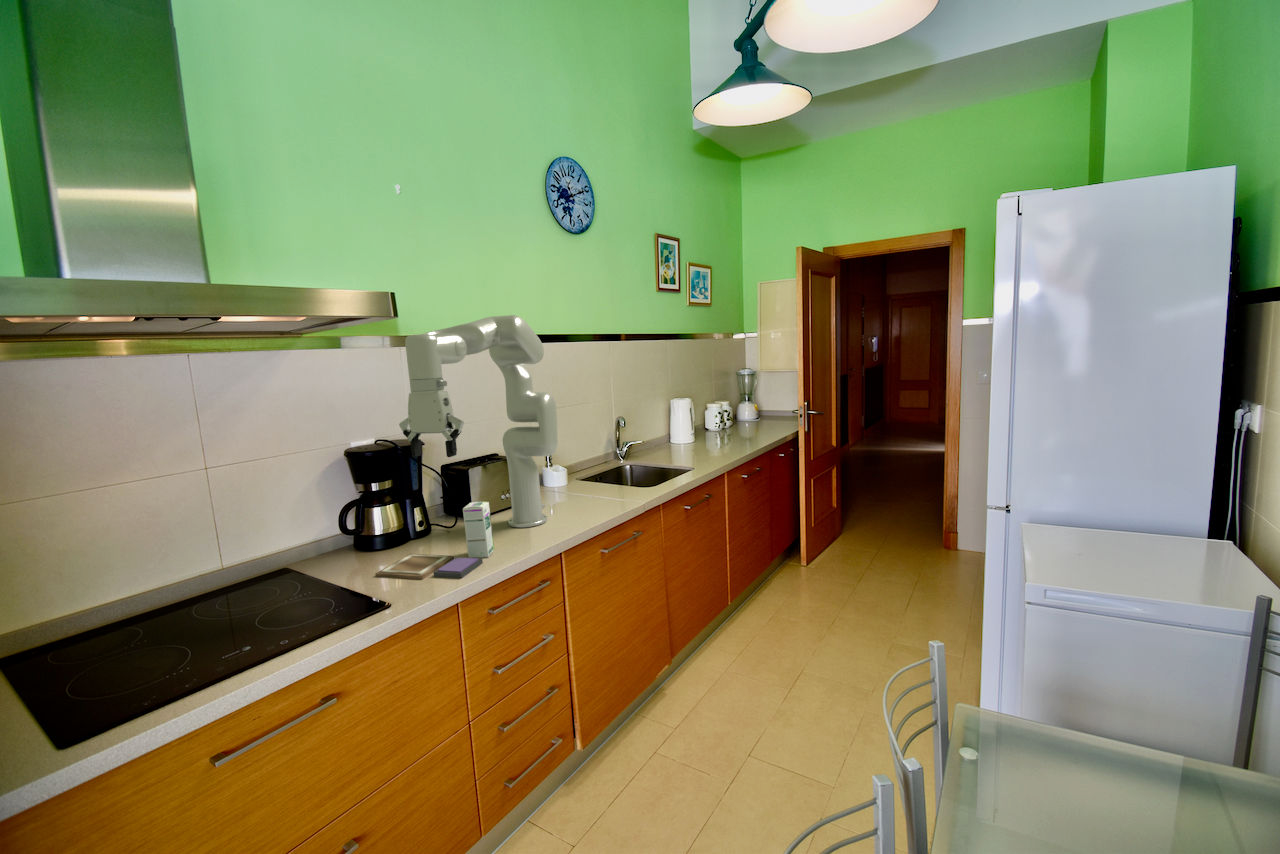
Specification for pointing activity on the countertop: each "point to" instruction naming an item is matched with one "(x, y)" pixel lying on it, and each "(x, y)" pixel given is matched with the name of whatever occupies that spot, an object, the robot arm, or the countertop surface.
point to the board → (415, 566)
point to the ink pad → (458, 567)
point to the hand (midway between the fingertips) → (434, 456)
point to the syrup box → (478, 529)
